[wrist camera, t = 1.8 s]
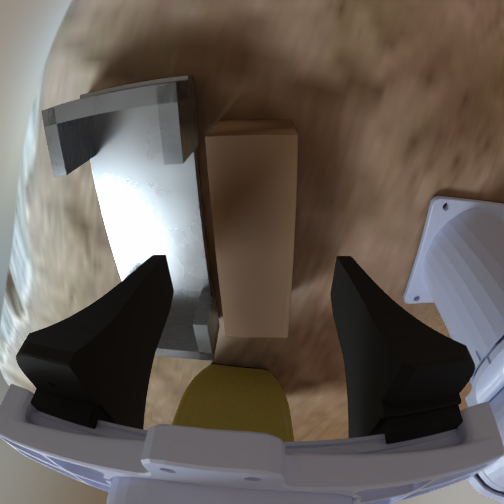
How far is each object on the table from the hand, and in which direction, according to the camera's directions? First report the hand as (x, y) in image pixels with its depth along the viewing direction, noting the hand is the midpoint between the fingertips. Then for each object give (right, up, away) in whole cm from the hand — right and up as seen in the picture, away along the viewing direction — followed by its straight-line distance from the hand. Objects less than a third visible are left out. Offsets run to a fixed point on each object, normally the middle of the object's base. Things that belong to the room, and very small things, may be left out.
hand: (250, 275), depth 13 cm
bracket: (-6, +3, +5) cm, 8 cm away
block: (0, +3, +4) cm, 5 cm away
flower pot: (-1, -10, +13) cm, 17 cm away
